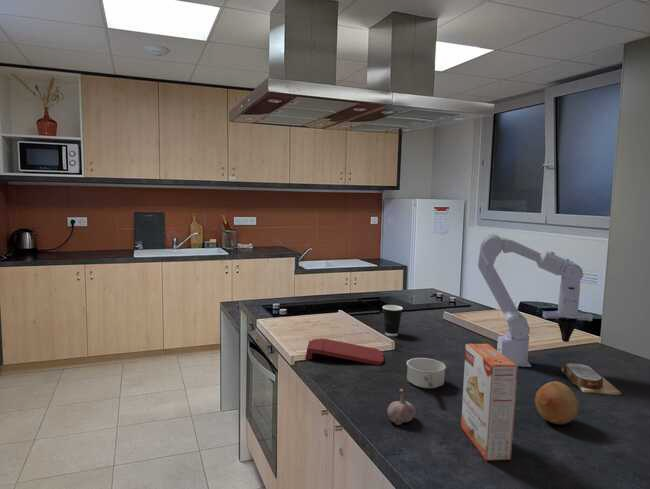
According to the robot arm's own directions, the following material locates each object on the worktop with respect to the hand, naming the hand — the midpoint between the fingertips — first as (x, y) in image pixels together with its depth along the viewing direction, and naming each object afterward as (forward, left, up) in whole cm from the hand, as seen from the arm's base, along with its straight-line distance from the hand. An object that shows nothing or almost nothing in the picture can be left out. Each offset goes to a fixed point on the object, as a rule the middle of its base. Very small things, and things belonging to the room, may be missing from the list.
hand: (565, 340), depth 150 cm
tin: (-2, -10, -7) cm, 13 cm away
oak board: (+4, -10, -9) cm, 14 cm away
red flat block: (-71, -3, -10) cm, 72 cm away
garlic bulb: (-54, -45, -10) cm, 71 cm away
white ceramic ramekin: (-46, -25, -10) cm, 53 cm away
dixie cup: (-55, +26, -10) cm, 62 cm away
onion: (-16, -39, -10) cm, 43 cm away
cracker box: (-36, -53, -10) cm, 65 cm away
